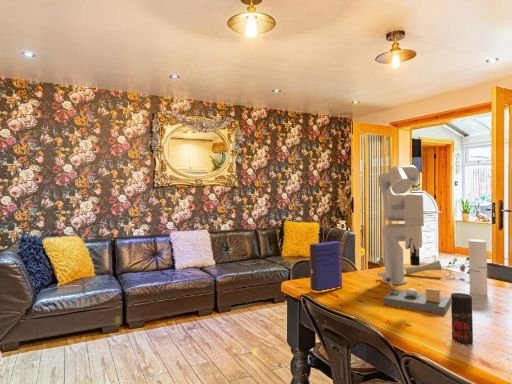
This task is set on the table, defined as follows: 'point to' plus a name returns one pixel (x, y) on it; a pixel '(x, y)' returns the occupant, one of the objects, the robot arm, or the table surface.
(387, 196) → the robot arm
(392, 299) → the control panel
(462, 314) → the deodorant
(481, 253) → the cylindrical container
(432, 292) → the paddle switch
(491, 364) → the table surface
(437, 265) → the flower vase
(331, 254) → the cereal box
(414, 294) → the push button
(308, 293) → the table surface
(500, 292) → the table surface
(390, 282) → the toggle lever
